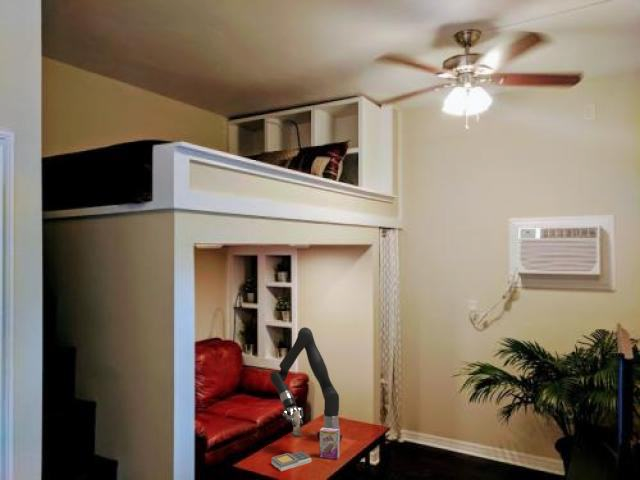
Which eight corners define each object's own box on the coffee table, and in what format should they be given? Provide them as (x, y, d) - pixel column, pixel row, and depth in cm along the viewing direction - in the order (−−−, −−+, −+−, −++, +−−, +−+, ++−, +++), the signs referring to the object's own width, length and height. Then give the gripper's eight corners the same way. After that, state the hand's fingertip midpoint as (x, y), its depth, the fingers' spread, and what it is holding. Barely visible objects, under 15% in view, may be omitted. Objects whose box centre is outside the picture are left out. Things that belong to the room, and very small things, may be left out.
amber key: (287, 457, 285) (287, 455, 285) (293, 461, 279) (293, 459, 279) (276, 460, 281) (276, 458, 281) (282, 465, 275) (282, 462, 275)
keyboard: (301, 455, 292) (301, 449, 292) (311, 461, 283) (311, 455, 283) (271, 463, 281) (271, 457, 281) (281, 471, 272) (281, 464, 272)
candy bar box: (319, 458, 288) (318, 430, 288) (321, 454, 293) (321, 427, 293) (337, 460, 285) (337, 431, 285) (339, 456, 290) (339, 428, 290)
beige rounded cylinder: (298, 432, 297) (297, 409, 297) (303, 435, 293) (302, 412, 293) (290, 435, 294) (289, 411, 294) (295, 438, 290) (294, 414, 290)
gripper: (279, 399, 296) (290, 425, 286) (299, 394, 304) (310, 419, 294) (275, 405, 300) (286, 431, 290) (295, 400, 308) (306, 426, 298)
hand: (298, 425), depth 292 cm, fingers closed on beige rounded cylinder, 4 cm apart
